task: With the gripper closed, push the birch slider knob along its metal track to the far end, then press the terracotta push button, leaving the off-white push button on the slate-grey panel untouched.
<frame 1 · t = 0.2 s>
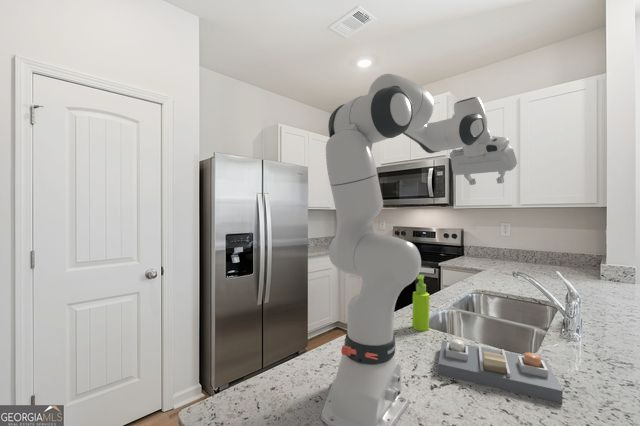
hand: (486, 183, 104), 54 cm above the countertop, tool tilted 30°, fingers open, 8 cm apart
slider knob: (494, 362, 79), point 5 cm above the countertop, slide at 0.0 cm
soap dispenser: (420, 329, 112), on the countertop
control panel: (492, 372, 83), on the countertop
terracotta button: (532, 360, 79), point 5 cm above the countertop, slide at 0.0 cm
white button: (457, 345, 87), point 5 cm above the countertop, slide at 0.0 cm
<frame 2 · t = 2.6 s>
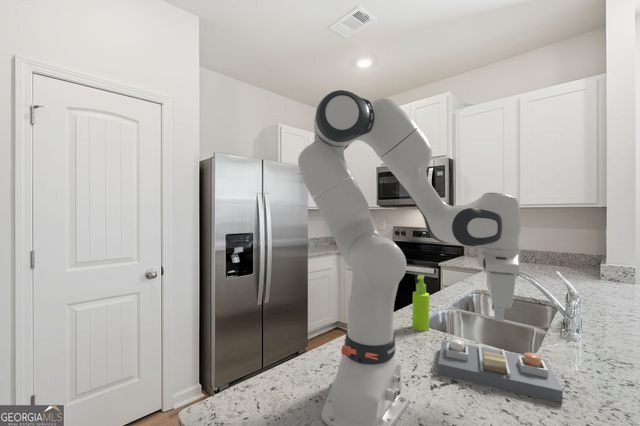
hand: (497, 314, 74), 19 cm above the countertop, tool pointing down, fingers open, 6 cm apart
nothing on the countertop moved.
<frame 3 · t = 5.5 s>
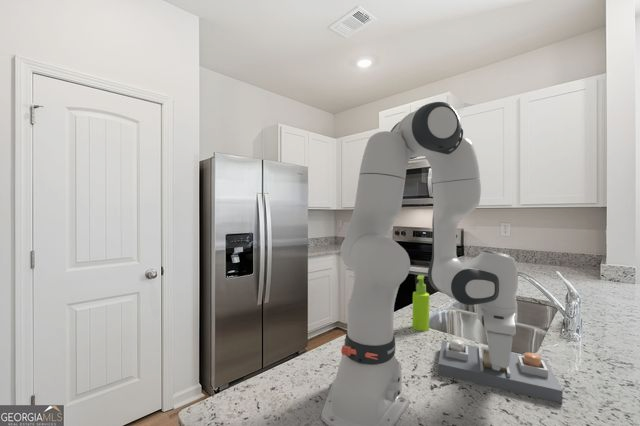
hand: (495, 367, 77), 4 cm above the countertop, tool pointing down, fingers closed
slider knob: (493, 359, 80), point 5 cm above the countertop, slide at 1.4 cm, touching gripper
everything else where it was.
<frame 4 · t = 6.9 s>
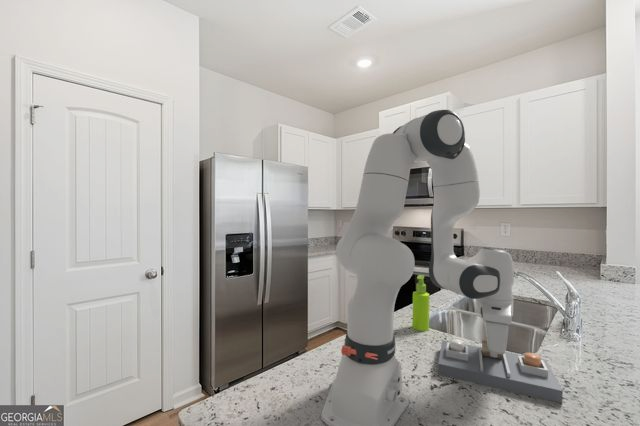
hand: (493, 355, 83), 4 cm above the countertop, tool pointing down, fingers closed
slider knob: (491, 348, 86), point 5 cm above the countertop, slide at 8.2 cm, touching gripper
everything else where it was.
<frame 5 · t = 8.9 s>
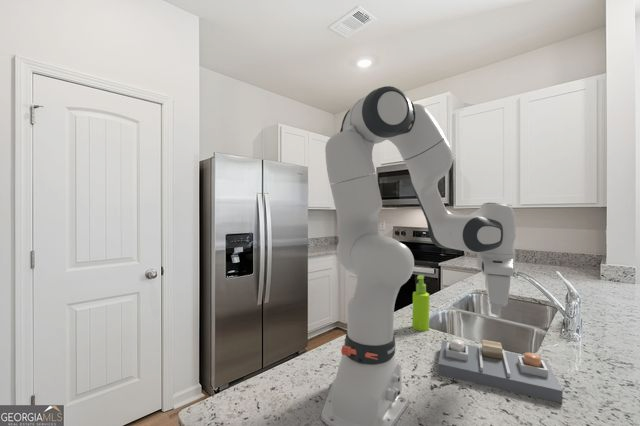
hand: (494, 312, 82), 17 cm above the countertop, tool pointing down, fingers closed
slider knob: (491, 349, 86), point 5 cm above the countertop, slide at 8.1 cm
everything else where it was.
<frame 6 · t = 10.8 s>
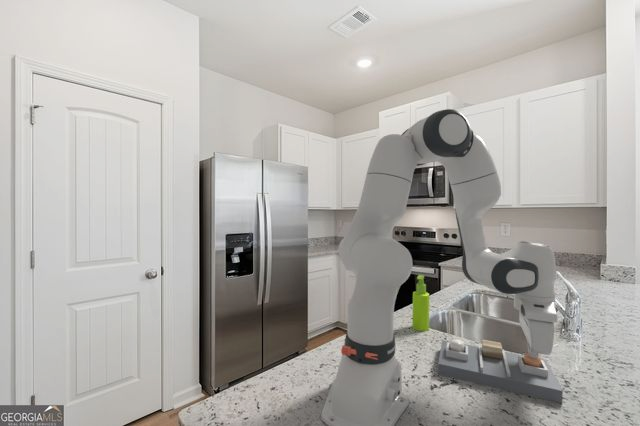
hand: (533, 355, 79), 7 cm above the countertop, tool pointing down, fingers closed, pressing on terracotta button
terracotta button: (532, 360, 79), point 5 cm above the countertop, slide at 0.0 cm, touching gripper
everything else where it was.
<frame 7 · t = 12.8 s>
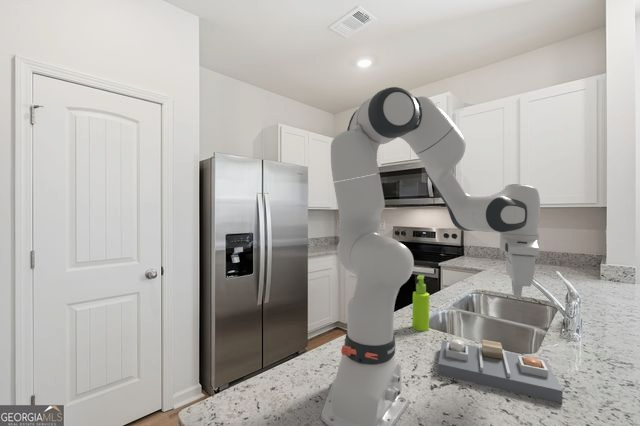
hand: (516, 295, 81), 22 cm above the countertop, tool pointing down, fingers closed
terracotta button: (532, 364, 79), point 4 cm above the countertop, slide at 1.2 cm
everything else where it was.
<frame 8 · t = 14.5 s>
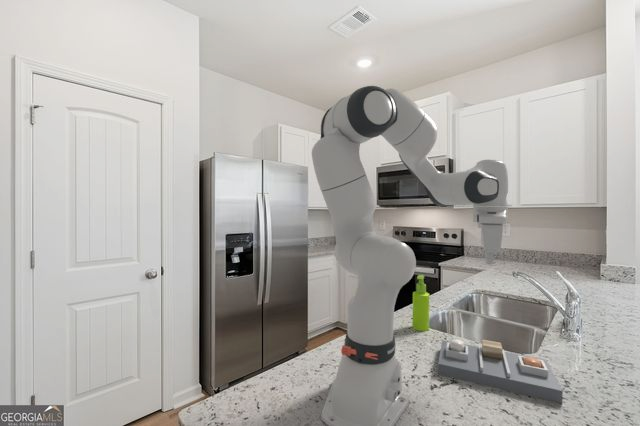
hand: (489, 263, 88), 29 cm above the countertop, tool pointing down, fingers closed
nothing on the countertop moved.
at the end: slider knob slide at 8.1 cm; terracotta button slide at 1.2 cm; white button slide at 0.0 cm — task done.
